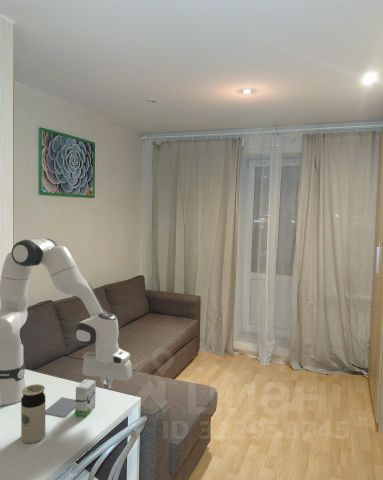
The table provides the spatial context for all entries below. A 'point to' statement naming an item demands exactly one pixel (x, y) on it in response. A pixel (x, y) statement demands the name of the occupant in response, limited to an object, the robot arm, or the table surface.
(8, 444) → the table surface
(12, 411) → the table surface
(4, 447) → the table surface
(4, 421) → the table surface
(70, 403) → the mat
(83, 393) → the ink box
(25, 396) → the travel mug
